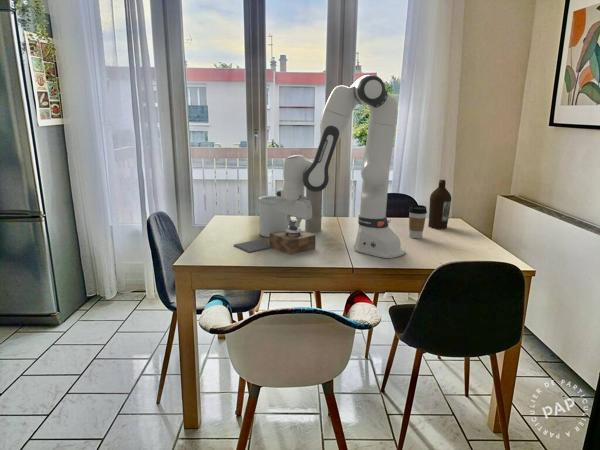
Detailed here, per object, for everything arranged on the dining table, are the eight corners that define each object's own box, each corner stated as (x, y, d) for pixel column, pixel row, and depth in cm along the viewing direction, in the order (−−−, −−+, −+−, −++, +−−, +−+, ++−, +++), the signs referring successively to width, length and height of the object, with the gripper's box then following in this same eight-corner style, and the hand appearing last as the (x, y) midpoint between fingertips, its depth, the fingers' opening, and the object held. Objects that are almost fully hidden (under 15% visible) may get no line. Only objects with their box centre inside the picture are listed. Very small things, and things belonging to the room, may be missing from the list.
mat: (272, 247, 185) (272, 246, 185) (249, 252, 178) (249, 251, 177) (256, 241, 194) (256, 239, 194) (233, 245, 186) (233, 244, 186)
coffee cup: (427, 237, 207) (430, 206, 203) (419, 240, 201) (422, 209, 197) (411, 233, 212) (414, 203, 209) (403, 236, 206) (405, 206, 203)
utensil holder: (269, 228, 216) (270, 194, 212) (295, 232, 209) (295, 197, 205) (252, 234, 204) (252, 198, 200) (278, 239, 197) (279, 202, 193)
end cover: (303, 241, 185) (304, 221, 183) (292, 244, 181) (292, 223, 179) (294, 238, 190) (294, 218, 188) (282, 241, 186) (282, 220, 184)
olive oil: (423, 226, 226) (427, 179, 220) (433, 223, 234) (438, 177, 227) (441, 230, 219) (447, 182, 213) (451, 227, 226) (457, 180, 220)
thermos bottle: (305, 227, 219) (307, 172, 212) (321, 228, 219) (323, 173, 212) (304, 231, 212) (305, 175, 205) (320, 232, 211) (322, 175, 204)
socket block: (315, 248, 186) (315, 234, 184) (290, 254, 177) (290, 240, 175) (294, 240, 196) (294, 228, 194) (269, 246, 187) (269, 233, 185)
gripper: (316, 196, 175) (315, 229, 178) (284, 190, 190) (284, 220, 193) (304, 198, 171) (304, 232, 174) (273, 191, 186) (273, 222, 189)
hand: (293, 225), depth 184 cm, fingers closed on end cover, 3 cm apart
